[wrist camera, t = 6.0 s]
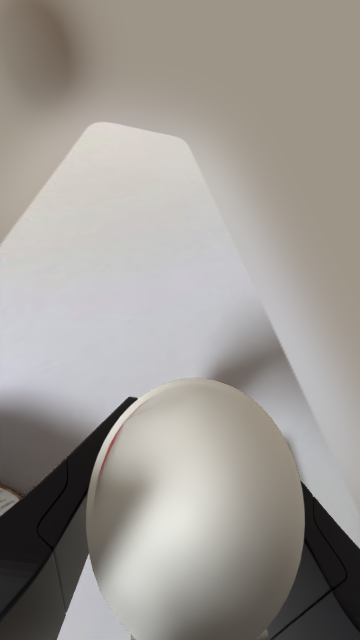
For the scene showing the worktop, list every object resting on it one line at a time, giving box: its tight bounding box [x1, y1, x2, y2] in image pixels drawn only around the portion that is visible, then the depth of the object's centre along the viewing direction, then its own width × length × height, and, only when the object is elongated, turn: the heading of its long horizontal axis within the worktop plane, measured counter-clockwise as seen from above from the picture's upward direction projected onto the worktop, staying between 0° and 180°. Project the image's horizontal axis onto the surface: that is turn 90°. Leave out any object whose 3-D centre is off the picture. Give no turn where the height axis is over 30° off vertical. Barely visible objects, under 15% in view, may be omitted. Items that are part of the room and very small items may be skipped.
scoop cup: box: [86, 378, 305, 640], centre depth 9 cm, size 5×5×11 cm
